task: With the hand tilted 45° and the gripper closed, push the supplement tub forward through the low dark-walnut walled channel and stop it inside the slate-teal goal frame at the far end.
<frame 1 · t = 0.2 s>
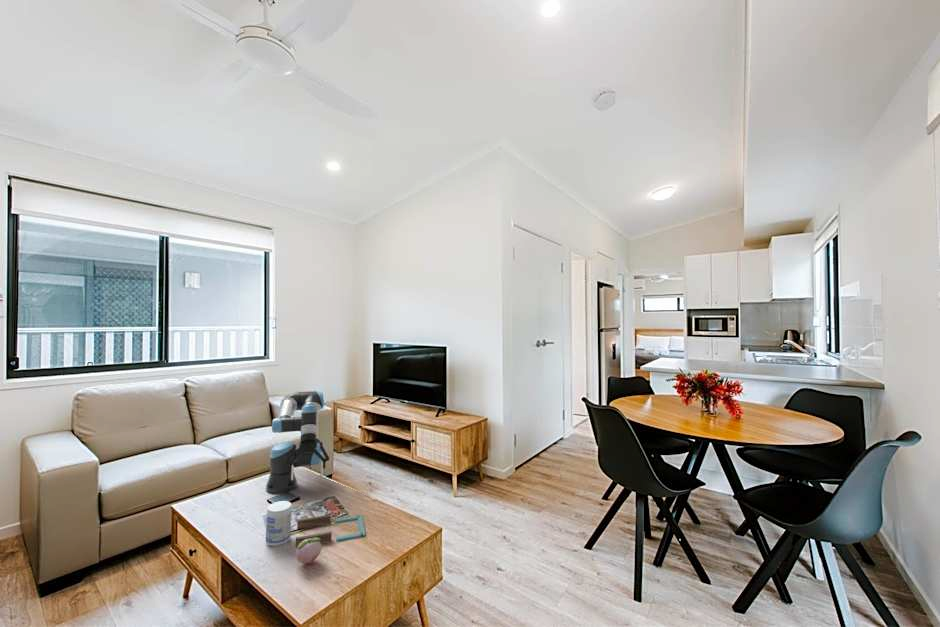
hand: (307, 477, 192), 15 cm above the table, tool tilted 35°, fingers open, 13 cm apart
channel walls: (313, 534, 171), on the table
supplement tub: (278, 540, 166), on the table
decorative fruit: (307, 563, 151), on the table
goal frame: (347, 528, 176), on the table
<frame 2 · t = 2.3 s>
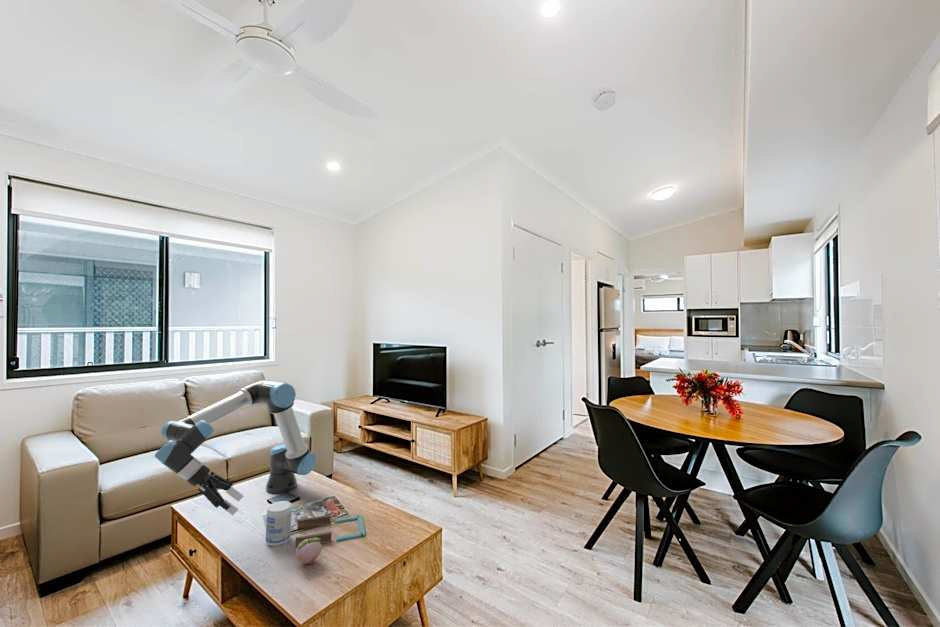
hand: (238, 505, 160), 17 cm above the table, tool tilted 45°, fingers open, 11 cm apart
nothing on the table moved.
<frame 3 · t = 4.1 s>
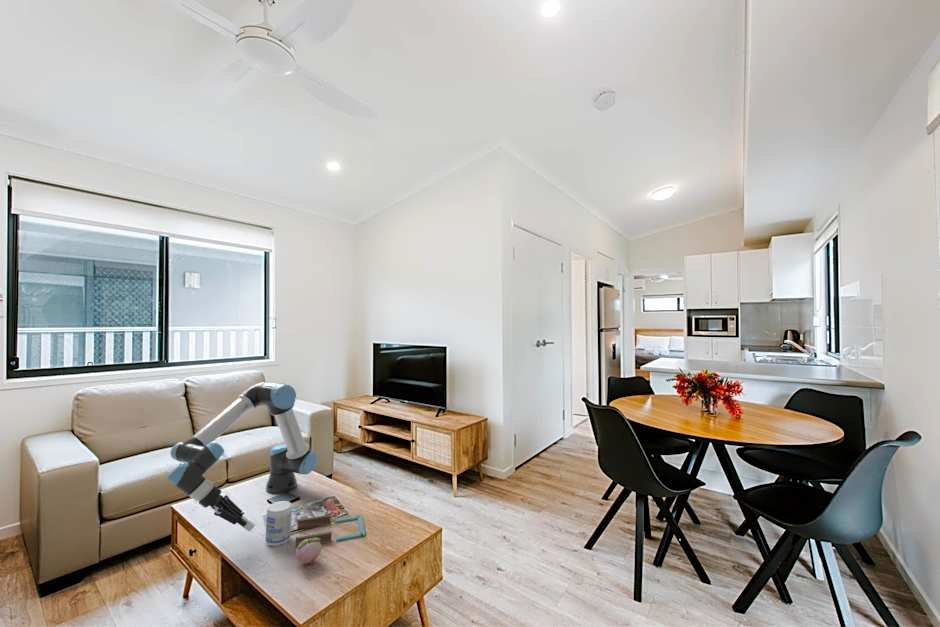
hand: (252, 528, 162), 7 cm above the table, tool tilted 45°, fingers closed
nothing on the table moved.
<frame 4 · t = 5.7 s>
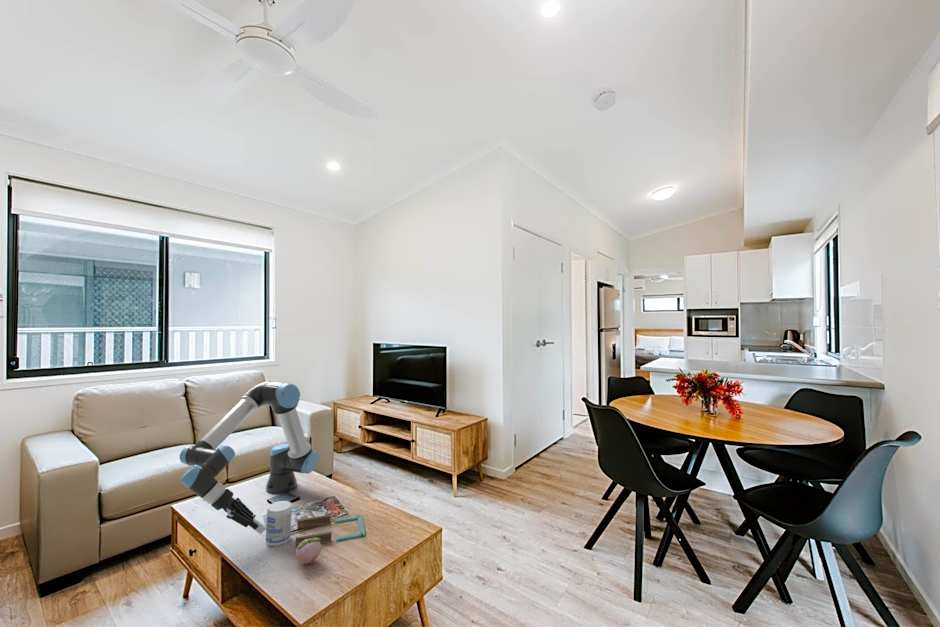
hand: (263, 530, 162), 6 cm above the table, tool tilted 45°, fingers closed
supplement tub: (278, 540, 166), on the table, touching gripper
everything else where it was.
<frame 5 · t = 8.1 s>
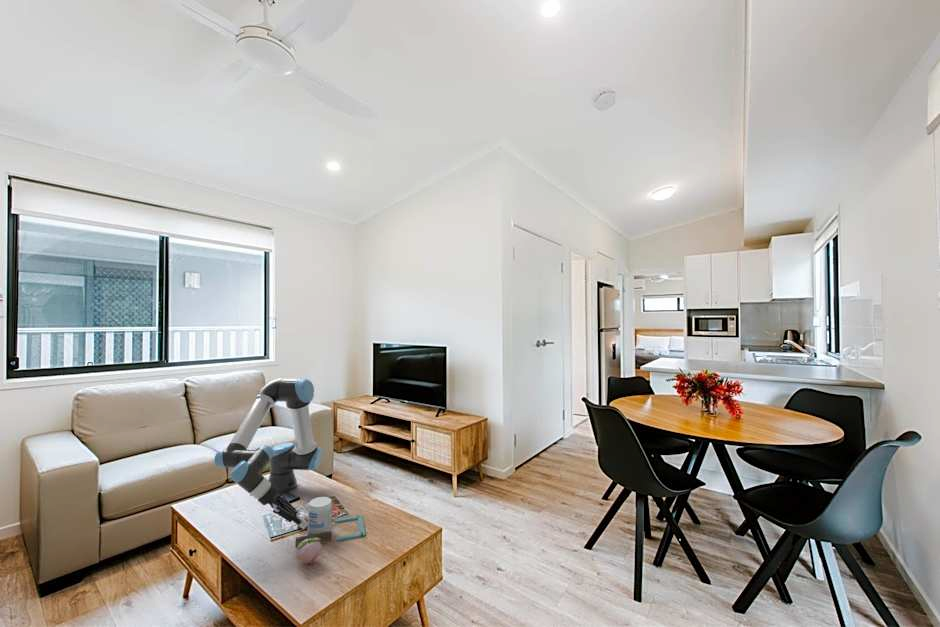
hand: (305, 526, 167), 5 cm above the table, tool tilted 45°, fingers closed
supplement tub: (319, 535, 170), on the table, touching gripper
everything else where it was.
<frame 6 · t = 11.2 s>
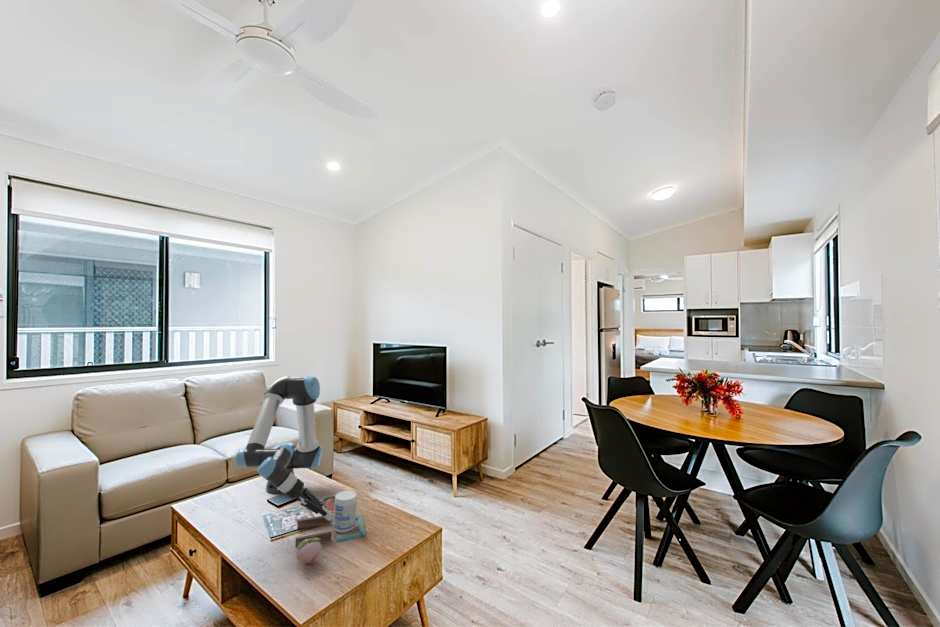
hand: (331, 517, 173), 6 cm above the table, tool tilted 45°, fingers closed
supplement tub: (344, 528, 176), on the table, touching gripper
everything else where it was.
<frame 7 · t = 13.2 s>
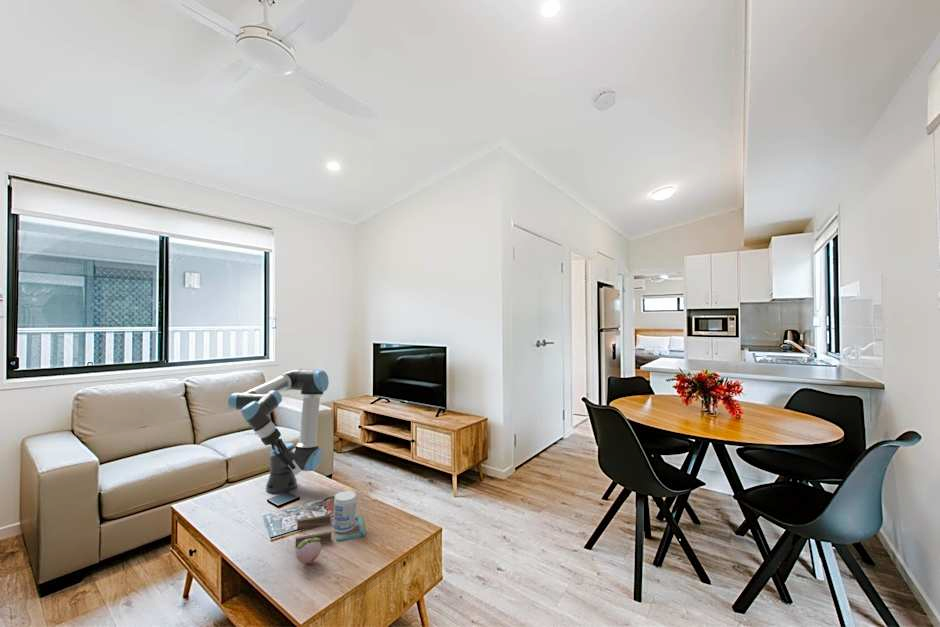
hand: (298, 472, 179), 23 cm above the table, tool tilted 30°, fingers closed
supplement tub: (344, 528, 176), on the table
everything else where it was.
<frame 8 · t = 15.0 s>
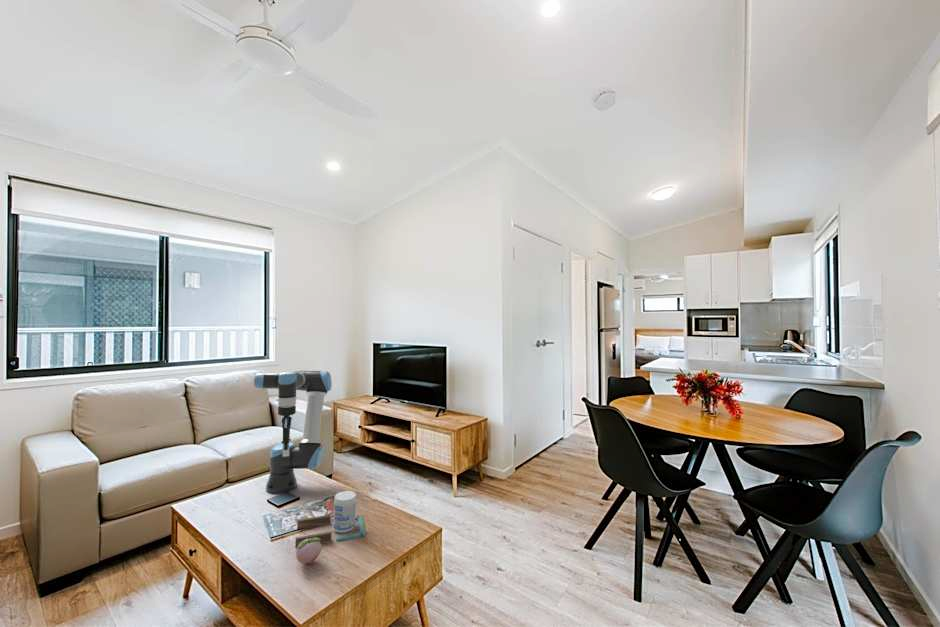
hand: (285, 455, 182), 29 cm above the table, tool pointing down, fingers closed
nothing on the table moved.
at the end: supplement tub inside the target area (1.1 cm from its centre), on the table; supplement tub tilted 0°; supplement tub moved 26.8 cm from its start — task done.
